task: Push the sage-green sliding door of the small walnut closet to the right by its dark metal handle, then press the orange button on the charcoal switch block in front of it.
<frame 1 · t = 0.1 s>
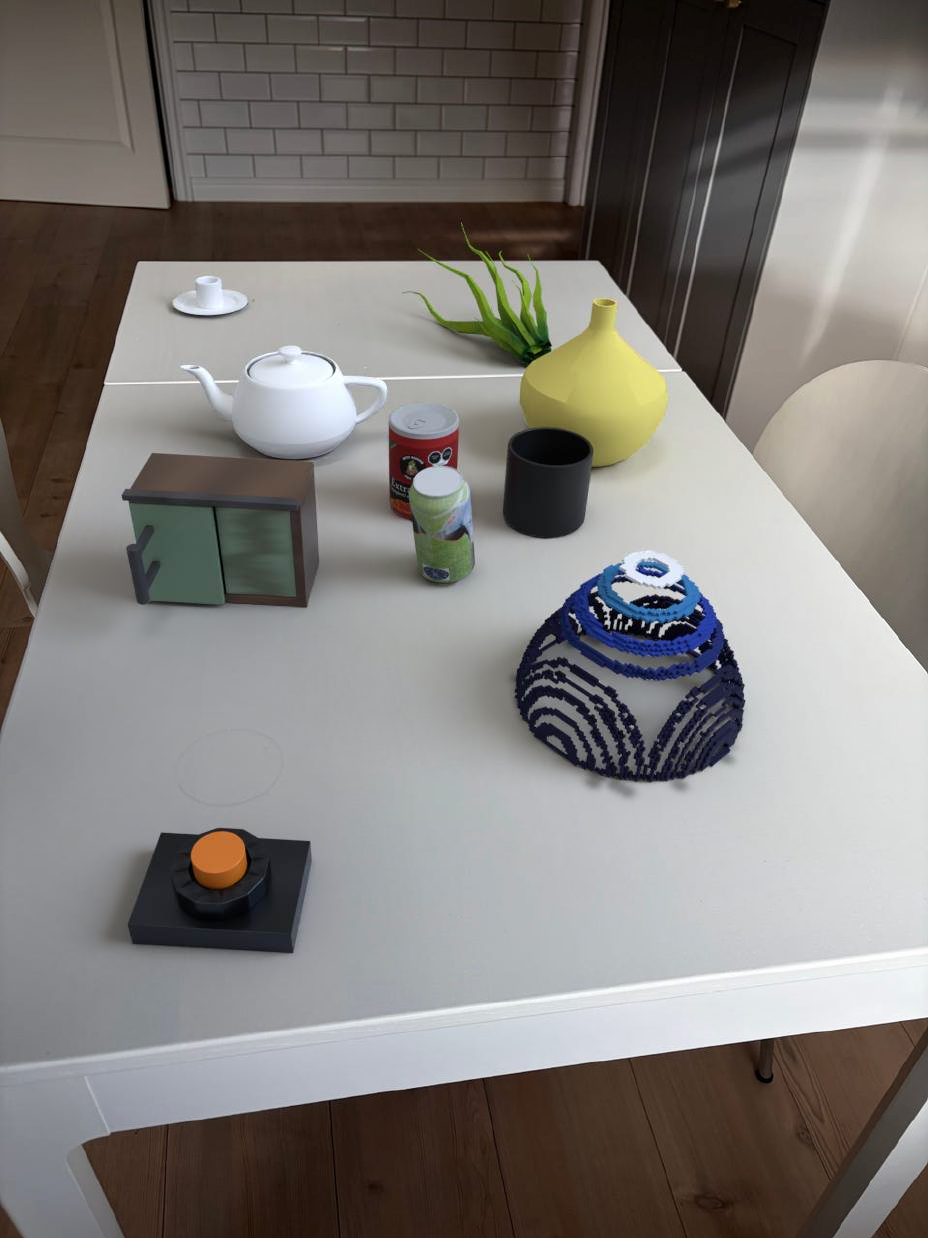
candle holder: (211, 306, 162), on the table
decorative bowl: (628, 700, 90), on the table
vase: (586, 450, 128), on the table
closet door: (171, 569, 92), point 6 cm above the table, slide at 0.0 cm
switch block: (226, 900, 71), on the table
teapot: (289, 441, 126), on the table
closet: (235, 579, 102), on the table
beverage can: (441, 576, 104), on the table
canned food: (422, 505, 115), on the table
button: (219, 859, 68), point 4 cm above the table, slide at 0.1 cm
mug: (542, 512, 115), on the table
decorative plant: (471, 337, 156), on the table
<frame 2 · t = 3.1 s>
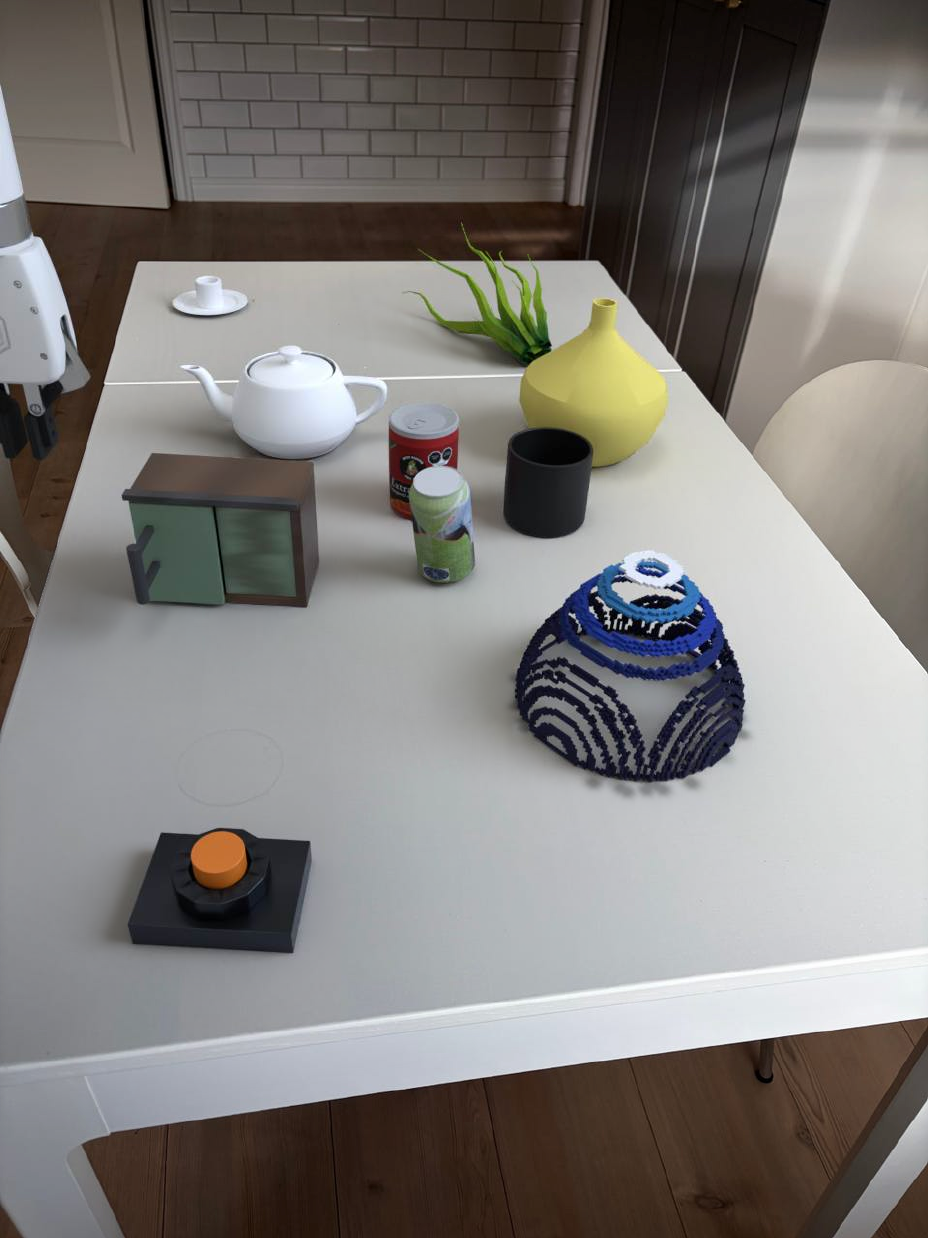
hand: (31, 450, 82), 19 cm above the table, tool pointing down, fingers closed
nothing on the table moved.
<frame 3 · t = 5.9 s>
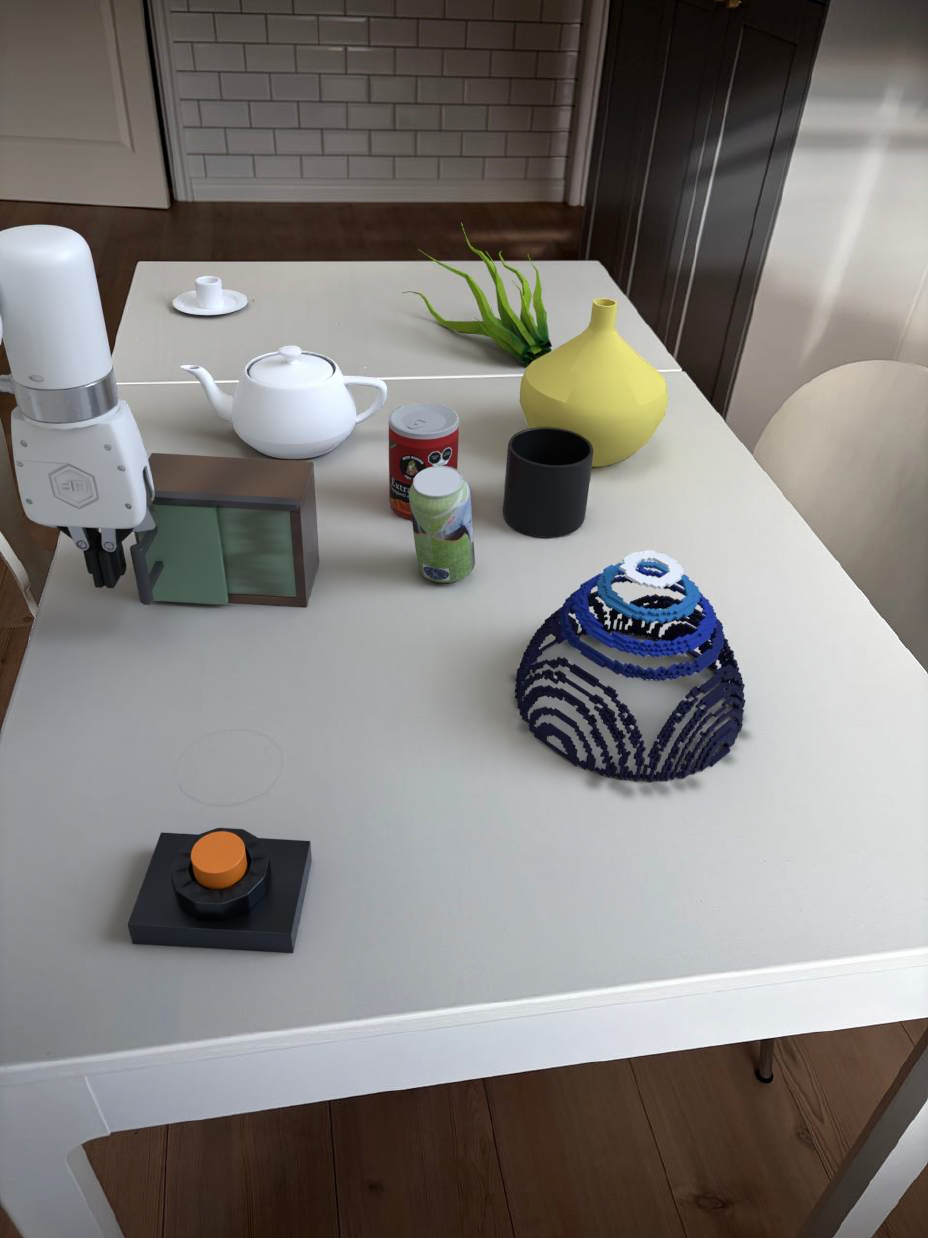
hand: (109, 579, 90), 6 cm above the table, tool pointing down, fingers closed
closet door: (174, 570, 92), point 6 cm above the table, slide at 0.3 cm, touching gripper
everything else where it was.
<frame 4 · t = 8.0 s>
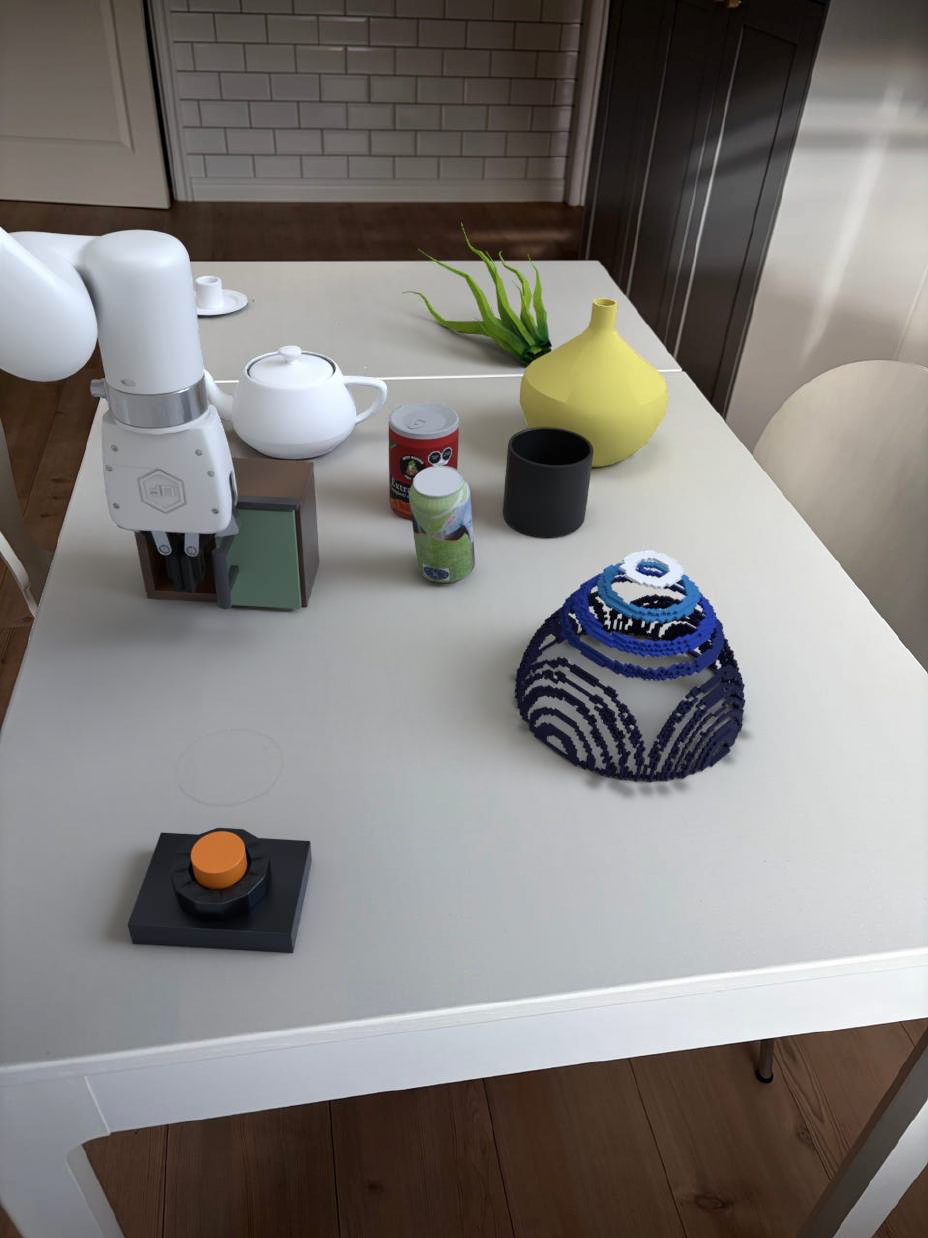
hand: (188, 583, 90), 6 cm above the table, tool pointing down, fingers closed
closet door: (252, 574, 92), point 6 cm above the table, slide at 7.6 cm, touching gripper
everything else where it was.
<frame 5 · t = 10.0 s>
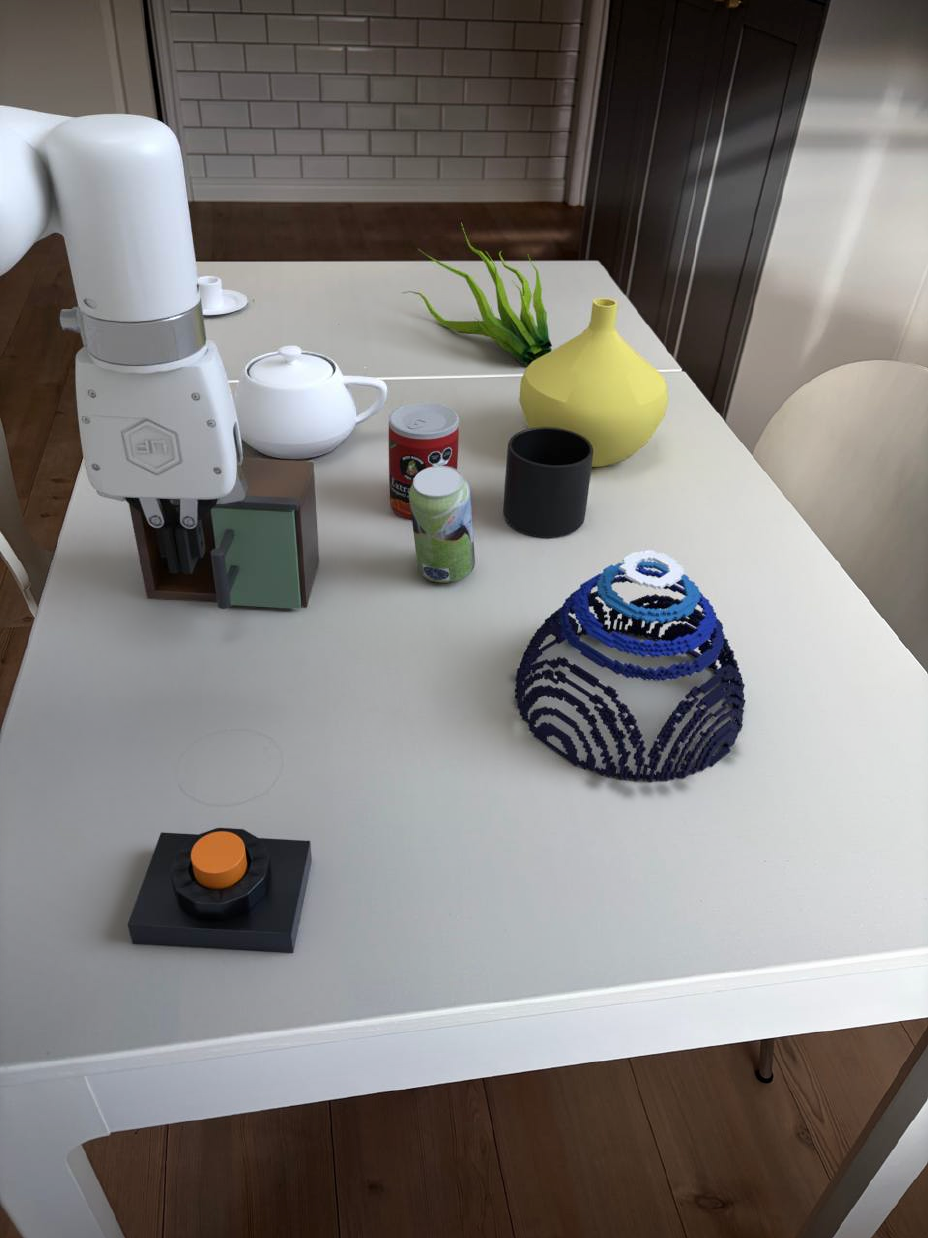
hand: (185, 562, 75), 16 cm above the table, tool pointing down, fingers closed
closet door: (251, 574, 92), point 6 cm above the table, slide at 7.5 cm
everything else where it was.
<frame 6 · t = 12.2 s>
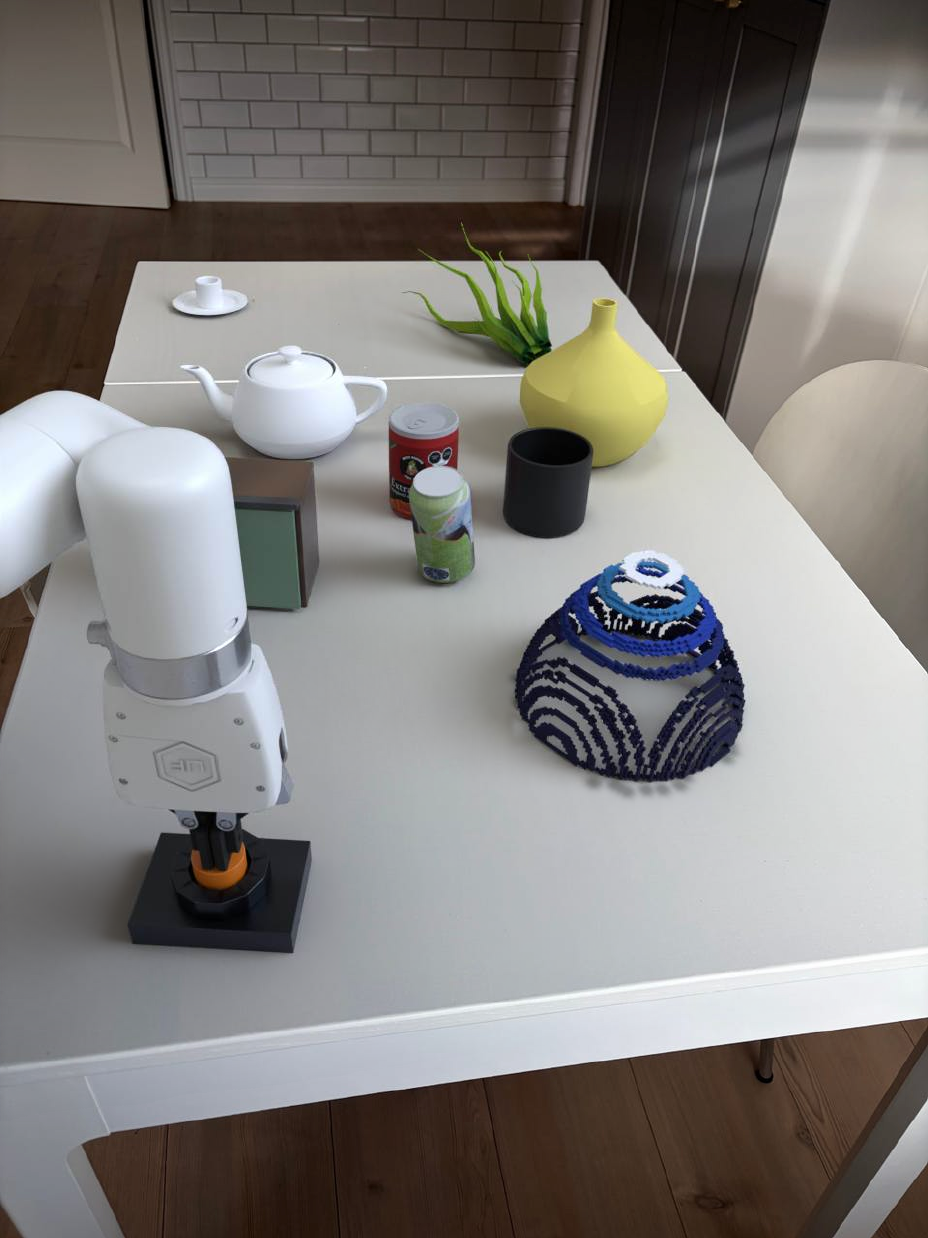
hand: (220, 853, 67), 5 cm above the table, tool pointing down, fingers closed
button: (219, 861, 68), point 4 cm above the table, slide at -0.1 cm, touching gripper
everything else where it was.
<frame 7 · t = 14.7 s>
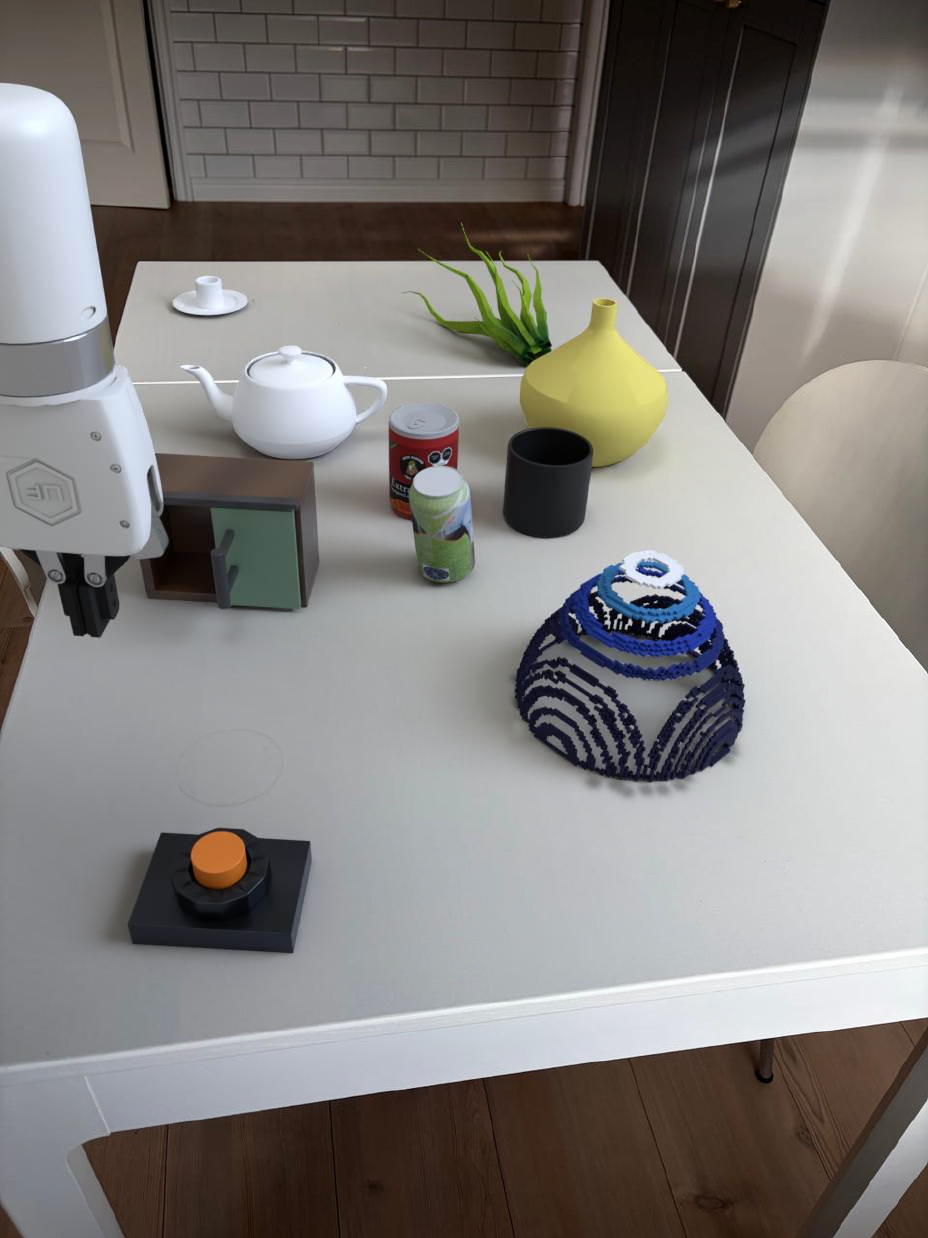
hand: (95, 623, 63), 20 cm above the table, tool pointing down, fingers closed
button: (219, 859, 68), point 4 cm above the table, slide at 0.1 cm
everything else where it was.
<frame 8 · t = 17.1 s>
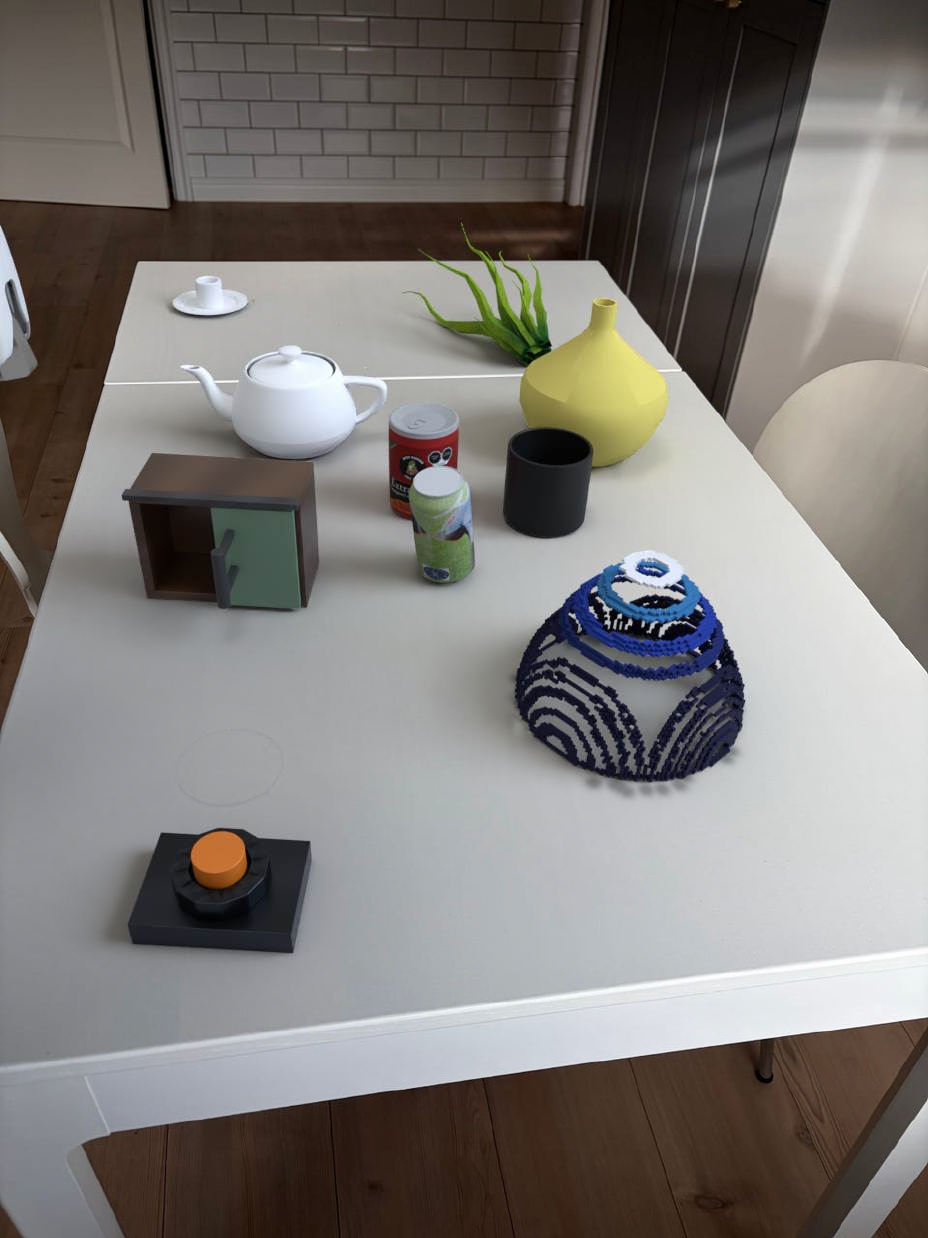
nothing on the table moved.
at the end: closet door slide at 7.5 cm; button pushed in 1.1 cm at the most during the clip, back to where it started at the end; button slide at 0.1 cm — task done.
